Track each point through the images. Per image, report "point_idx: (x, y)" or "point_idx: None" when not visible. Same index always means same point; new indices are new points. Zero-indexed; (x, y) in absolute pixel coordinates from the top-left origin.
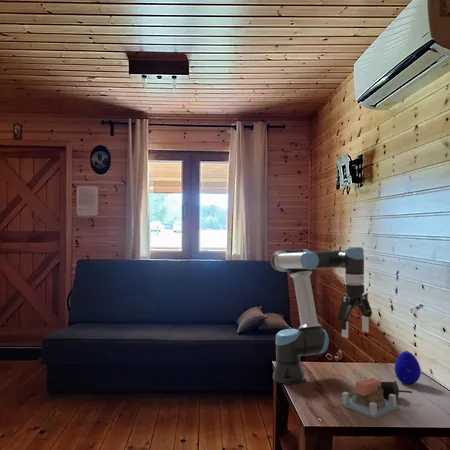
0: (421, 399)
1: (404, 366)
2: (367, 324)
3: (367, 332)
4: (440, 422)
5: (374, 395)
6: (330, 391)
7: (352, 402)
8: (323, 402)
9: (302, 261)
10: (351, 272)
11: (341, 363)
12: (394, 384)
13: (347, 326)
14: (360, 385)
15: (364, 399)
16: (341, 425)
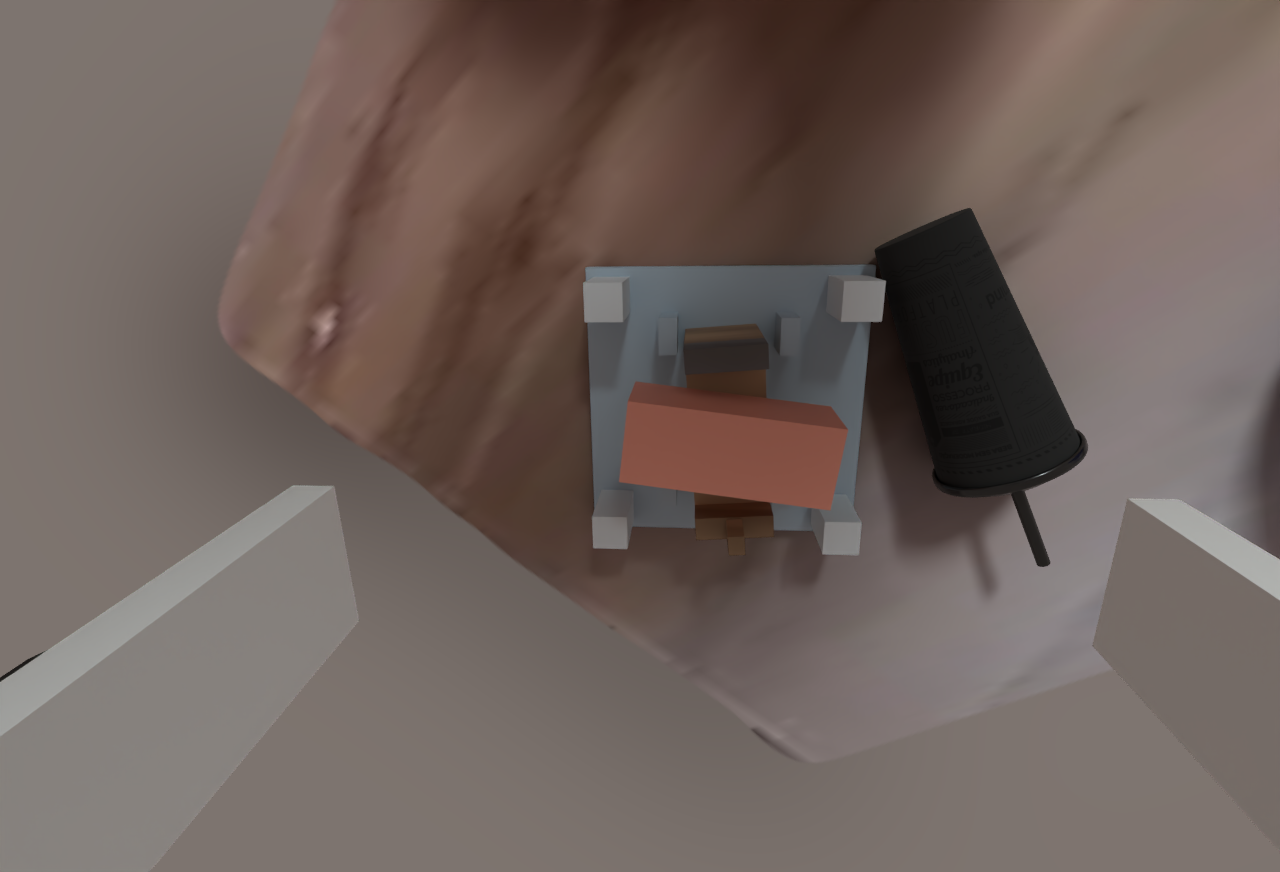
0: (1095, 549)
1: None
2: (1260, 823)
3: (1093, 643)
4: (840, 737)
5: (697, 497)
6: (729, 25)
7: (652, 322)
8: (517, 156)
9: None
10: None
11: None
12: (996, 495)
13: (128, 849)
14: (623, 450)
15: None
16: (380, 454)
